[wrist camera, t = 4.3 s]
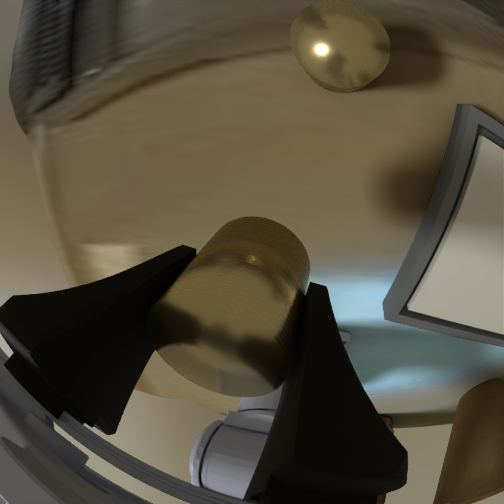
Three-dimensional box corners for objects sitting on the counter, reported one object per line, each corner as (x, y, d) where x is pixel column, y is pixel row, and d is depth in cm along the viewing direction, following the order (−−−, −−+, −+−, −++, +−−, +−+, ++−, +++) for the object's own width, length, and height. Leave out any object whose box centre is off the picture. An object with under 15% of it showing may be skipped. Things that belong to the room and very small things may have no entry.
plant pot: (465, 364, 20) (479, 497, 7) (539, 356, 16) (563, 455, 3) (416, 423, 28) (409, 519, 15) (487, 415, 24) (492, 497, 11)
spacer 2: (368, 101, 13) (382, 98, 9) (297, 83, 14) (283, 74, 10) (379, 39, 11) (395, 15, 7) (308, 23, 12) (296, -7, 7)
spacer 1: (295, 316, 12) (269, 409, 8) (207, 288, 13) (155, 367, 9) (322, 233, 10) (306, 332, 6) (213, 205, 11) (136, 276, 7)
